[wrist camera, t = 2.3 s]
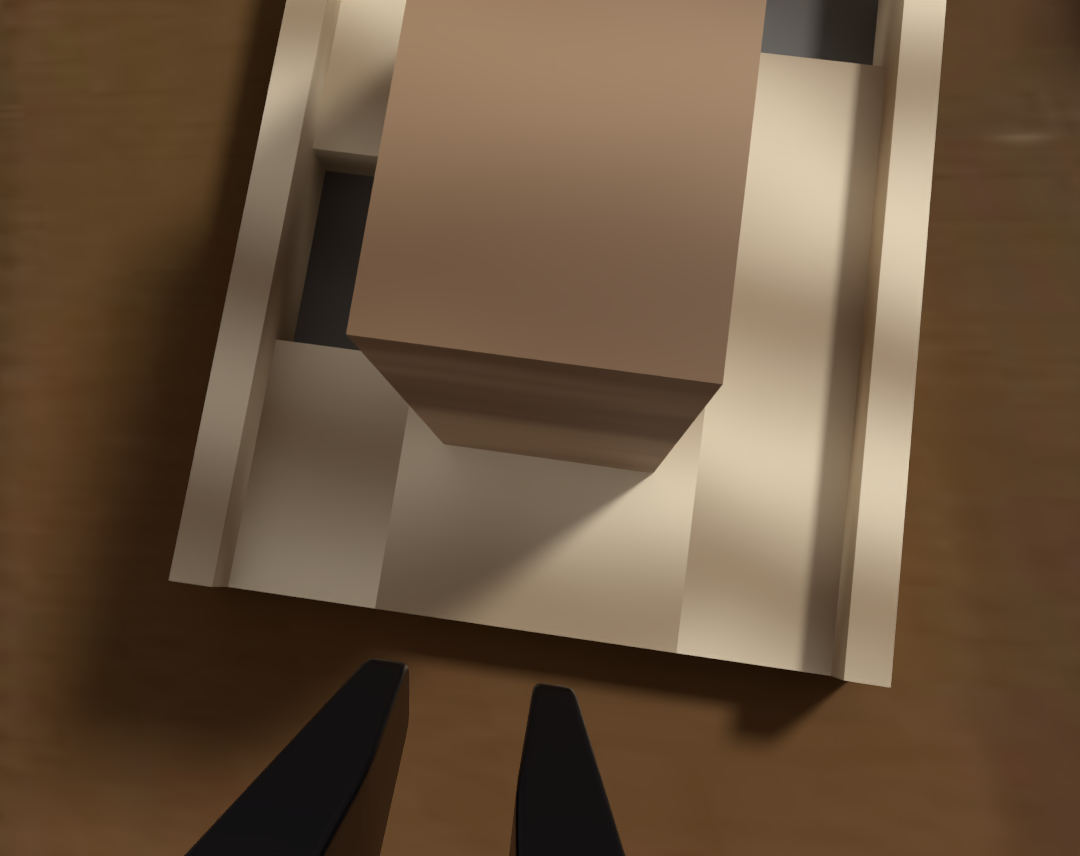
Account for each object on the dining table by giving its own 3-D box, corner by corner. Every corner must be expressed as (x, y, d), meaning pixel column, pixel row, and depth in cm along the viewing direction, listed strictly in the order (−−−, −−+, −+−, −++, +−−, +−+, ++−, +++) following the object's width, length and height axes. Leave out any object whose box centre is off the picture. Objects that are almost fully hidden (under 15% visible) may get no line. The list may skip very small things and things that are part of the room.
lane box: (855, 676, 23) (916, 695, 19) (210, 580, 23) (138, 580, 19) (939, -285, 27) (1003, -435, 23) (390, -338, 28) (361, -490, 24)
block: (653, 473, 22) (722, 384, 12) (443, 444, 22) (345, 334, 12) (710, 10, 24) (811, -392, 14) (517, -12, 24) (482, -422, 14)
